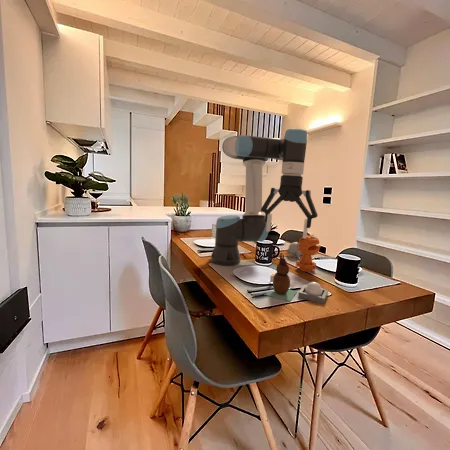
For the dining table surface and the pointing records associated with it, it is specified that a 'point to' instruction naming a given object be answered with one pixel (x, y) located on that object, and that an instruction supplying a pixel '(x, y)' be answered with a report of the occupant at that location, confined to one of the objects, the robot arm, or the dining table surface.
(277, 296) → the mat
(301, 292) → the button housing
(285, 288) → the wooden figurine
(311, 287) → the dome
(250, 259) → the dining table surface
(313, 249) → the toy dinosaur
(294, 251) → the toy rhinoceros
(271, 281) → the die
